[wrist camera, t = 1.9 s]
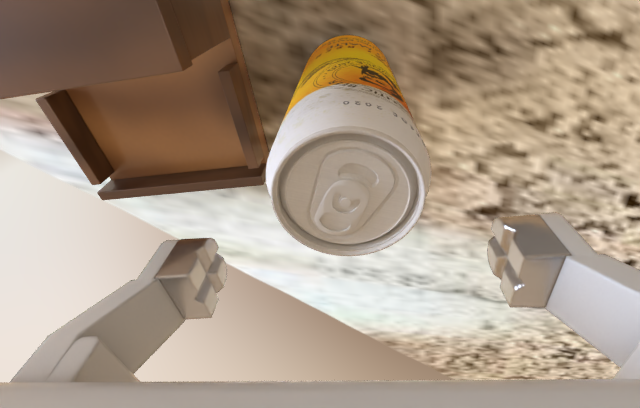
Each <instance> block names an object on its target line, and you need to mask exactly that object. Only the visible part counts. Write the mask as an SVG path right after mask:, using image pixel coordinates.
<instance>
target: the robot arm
mask: <svg viewBox="0 0 640 408" xmlns="http://www.w3.org/2000/svg"><path fill="white" fill-rule="evenodd" d="M491 230H492V232H493V233H494V235H495V236H494V237H493V238H492V239H491V240H489V242H488V248H487V255H488V262H489V265H490V268H491V270H492V272H493V274H494V275H495V276H497V277H499V278H500V279H502V280H501V284H500V288H501V290H502V292H503V294H504V296H505V298H506V300H507V302H508V304H509V306H510V307H546V308H545V309H547V310H548V311H549V312H550V313H552V314H553V315H554V316H555V317H557V318H558V319H559V320H561V321H562V322H563V323H564V324H566V325H567V326H568V327H569V328H571V329H572V330H573V331H575V332H576V333H577V334H578V335H580V336H581V337H582V338H583V339H585V340H586V341H587V342H588V343H590V344H591V345H592V346H594V347H595V348H596V349H597V350H599V351H600V352H601V353H602V354H604V355H605V356H606V357H608V358H609V359H610V360H611V361H613V362H614V363H615V364H616V365H618V366H619V367H620V369H619V371H618V372H617V373H616V375H615V376H614V377H613V379H553V380H406V381H405V380H397V381H396V380H394V381H393V380H392V381H391V380H390V381H389V380H386V381H236V382H235V381H232V382H231V381H230V382H229V381H222V382H221V381H220V382H219V381H218V382H140V381H139V380H138V379H137V378H136V377H135V376H134V373H135V372H136V371H137V370H138V369H139V368H140V367H141V366H142V365H143V364H144V363H145V362H146V361H147V359H149V357H150V356H151V355H152V354H153V353H154V352H155V351H156V350H157V349H158V348H159V347H160V346H161V345H162V344H163V343H164V342H165V341H166V340H167V339H168V338H169V337H170V336H171V335H172V334H173V333H174V332H175V331H176V330H177V329H178V328H179V327H180V325H181V324H182V323H183V322H184V321H185V319H200V318H211V317H212V315H213V312H214V310H215V307H216V305H217V302H218V300H219V299H218V296H217V294H216V293H217V292H219V291H220V290H221V289H222V288H223V287H224V284H225V282H226V277H227V276H226V275H227V268H226V263H225V261H224V258H223V257H221V256H220V255H219V254H217V253H216V252H217V250H218V248H219V247H218V245H217V243H216V241H215V239H212V238H199V239H181V240H167V241H165V242H163V243H162V244H161V245H160V246H159V248H158V249H157V251H156V252H155V254H154V255H153V256H152V258H151V259H150V261H149V262H148V264H147V265H146V267H145V268H144V269H143V271H142V272H141V274H140V275H139V277H138V278H137V279H136V280H131V281H129V282H128V283H126V284H125V285H123V286H122V287H120V288H119V289H117V290H116V291H114V292H113V293H111V294H110V295H108V296H107V297H105V298H104V299H102V300H101V301H99V302H98V303H97V304H95V305H93V306H92V307H90V308H89V309H87V310H86V311H85V312H83V313H82V314H80V315H79V316H77V317H76V318H74V319H73V320H71V321H70V322H68V323H67V324H65V325H64V326H62V327H61V328H59V329H58V330H56V331H55V332H53V333H52V334H50V335H49V336H47V338H46V339H45V340H44V341H43V342H42V344H41V345H40V346H39V347H38V349H37V350H36V351H35V352H34V353H33V355H32V356H31V357H30V358H29V359H28V361H27V362H26V363H25V364H24V365H23V367H22V368H21V369H20V370H19V371H18V373H17V374H16V375H15V376H14V377H13V379H12V380H11V381H10V382H9V383H0V408H640V270H638V269H636V268H634V267H632V266H630V265H627V264H625V263H623V262H621V261H619V260H617V259H614V258H612V257H610V256H608V255H606V254H597V253H596V252H595V251H594V250H593V248H592V247H591V246H590V245H589V244H588V243H587V242H586V241H585V240H584V239H583V238H582V236H581V235H580V234H579V233H578V232H577V231H576V230H575V229H574V228H573V227H572V226H571V224H570V223H569V222H568V221H567V220H566V219H565V218H564V217H563V216H562V215H561V214H559V213H557V212H552V213H541V214H535V215H522V216H510V217H497V218H495V219H494V221H493V223H492V227H491Z"/></svg>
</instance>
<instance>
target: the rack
mask: <svg viewBox="0 0 640 408" xmlns="http://www.w3.org/2000/svg"><path fill="white" fill-rule="evenodd" d="M51 91H54V92H51ZM44 92H51V93H49V94H46V95H44V96H42V97H39V98H37V99H36V101H37V103H38V104H39V106H40V107H41V109H42V110H43V112H44V113H45V115H46V116H47V118H48V119H49V121H50V122H51V124H52V125H53V127H54V128H55V130H56V131H57V133H58V134H59V136H60V137H61V139H62V140H63V142H64V143H65V145H66V146H67V148H68V149H69V151H70V152H71V154H72V155H73V157H74V158H75V160H76V161H77V163H78V164H79V166H80V167H81V169H82V170H83V172H84V173H85V175H86V176H87V178H88V179H89V181H90V182H91V184H92V185H96V184H101V183H102V182H103V181H105V180H106V179H107V178H108V177H110V178H111V181H110V182H108V183H107V184H106V185H105V186H104V187H103V188H102V189H101V190H100V191H98V192H97V193H98V195H99V196H100V198H101V199H102V200H109V199H120V198H130V197H141V196H151V195H162V194H172V193H183V192H193V191H204V190H214V189H225V188H235V187H246V186H256V185H264V182H265V179H266V165H267V160H268V157H269V151H268V147H267V143H266V139H265V136H264V132H263V128H262V124H261V121H260V117H259V113H258V110H257V106H256V102H255V98H254V95H253V91H252V87H251V83H250V80H249V76H248V72H247V69H246V65H245V61H244V57H243V54H242V50H241V46H240V43H239V39H238V35H237V31H236V28H235V24H234V20H233V16H232V13H231V9H230V5H229V2H228V0H0V99H5V98H12V97H18V96H25V95H31V94H38V93H44Z"/></svg>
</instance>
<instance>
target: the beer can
mask: <svg viewBox="0 0 640 408" xmlns="http://www.w3.org/2000/svg"><path fill="white" fill-rule="evenodd" d="M266 183H267V188H268V192H269V195H270V197H271V200H272V205H273V209H274V212H275V214H276V217H277V218H278V220H279V222H280V223H281V225H282V226H283V228H284V229H285V230H286V231H287V232H288V233H289V234H290V235H291V236H292V237H293V238H295V239H296V240H297V241H299V242H300V243H302V244H304V245H305V246H307V247H309V248H311V249H314V250H316V251H319V252H322V253H326V254H331V255H338V256H359V255H365V254H370V253H374V252H377V251H380V250H383V249H385V248H387V247H389V246H391V245H393V244H394V243H396V242H398V241H399V240H400V239H402V238H403V237H404V236H405V235H406V234H408V233H409V231H410V230H411V229H412V228H413V227H414V226H415V224H416V223H417V221H418V220H419V218H420V216H421V214H422V211H423V209H424V205H425V200H426V196H427V194H428V191H429V187H430V183H431V163H430V157H429V154H428V151H427V149H426V146H425V144H424V142H423V140H422V138H421V135H420V133H419V131H418V129H417V126H416V124H415V122H414V120H413V118H412V115H411V113H410V111H409V109H408V107H407V104H406V102H405V100H404V98H403V96H402V93H401V91H400V89H399V87H398V85H397V82H396V80H395V78H394V76H393V73H392V71H391V69H390V67H389V65H388V62H387V60H386V58H385V56H384V55H383V53H382V52H381V51H380V49H379V48H378V47H377V46H376V45H374V44H373V43H372V42H370V41H369V40H367V39H365V38H362V37H359V36H354V35H343V36H337V37H334V38H331V39H329V40H327V41H326V42H324V43H322V44H321V45H320V46H319V47H318V48H317V49H316V50H315V51H314V52H313V53H312V55H311V56H310V58H309V60H308V62H307V64H306V66H305V69H304V71H303V73H302V76H301V78H300V81H299V83H298V86H297V88H296V90H295V93H294V95H293V98H292V100H291V102H290V105H289V107H288V110H287V112H286V114H285V117H284V119H283V122H282V124H281V127H280V129H279V131H278V134H277V136H276V139H275V141H274V143H273V146H272V148H271V151H270V153H269V157H268V160H267V165H266Z"/></svg>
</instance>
